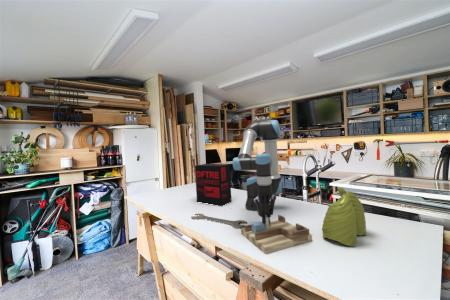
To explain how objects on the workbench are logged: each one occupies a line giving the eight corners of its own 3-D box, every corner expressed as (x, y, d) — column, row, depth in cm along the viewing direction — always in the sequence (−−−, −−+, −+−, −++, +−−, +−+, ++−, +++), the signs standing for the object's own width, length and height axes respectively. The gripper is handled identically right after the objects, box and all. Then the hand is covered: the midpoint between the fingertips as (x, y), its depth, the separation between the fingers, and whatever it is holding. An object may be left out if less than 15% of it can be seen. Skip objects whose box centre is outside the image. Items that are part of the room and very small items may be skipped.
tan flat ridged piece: (241, 233, 118) (240, 222, 118) (281, 224, 128) (281, 214, 128) (265, 253, 96) (264, 240, 96) (312, 240, 106) (311, 228, 106)
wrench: (188, 219, 147) (188, 216, 147) (198, 214, 156) (198, 211, 156) (242, 230, 124) (242, 227, 123) (250, 224, 132) (250, 221, 132)
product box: (197, 202, 186) (194, 165, 185) (207, 198, 198) (205, 163, 197) (221, 206, 171) (219, 166, 170) (231, 201, 182) (229, 164, 181)
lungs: (338, 225, 123) (337, 183, 122) (370, 233, 111) (368, 186, 110) (317, 239, 107) (315, 191, 106) (351, 250, 95) (349, 196, 94)
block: (251, 231, 113) (251, 222, 113) (260, 230, 114) (259, 220, 114) (255, 235, 108) (255, 225, 108) (264, 233, 110) (264, 224, 109)
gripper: (270, 181, 117) (272, 224, 118) (249, 184, 112) (251, 229, 113) (279, 183, 110) (281, 229, 111) (256, 186, 105) (259, 234, 106)
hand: (266, 229), depth 112 cm, fingers closed
